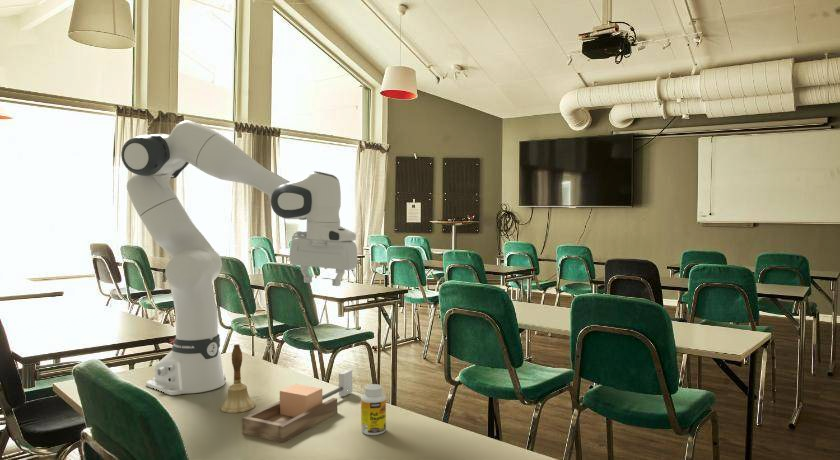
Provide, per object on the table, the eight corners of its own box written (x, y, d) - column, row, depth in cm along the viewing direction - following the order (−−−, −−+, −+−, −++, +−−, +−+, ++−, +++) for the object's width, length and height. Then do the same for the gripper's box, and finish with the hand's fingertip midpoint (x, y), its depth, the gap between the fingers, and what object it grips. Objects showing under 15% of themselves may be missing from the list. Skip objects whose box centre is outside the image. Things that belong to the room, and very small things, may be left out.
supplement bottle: (368, 438, 127) (368, 392, 126) (356, 430, 131) (356, 385, 131) (390, 432, 130) (390, 387, 129) (378, 424, 134) (378, 381, 134)
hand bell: (214, 407, 147) (213, 345, 146) (245, 399, 152) (243, 339, 152) (230, 416, 141) (229, 350, 140) (261, 407, 147) (260, 344, 146)
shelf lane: (242, 433, 130) (242, 417, 130) (299, 405, 148) (299, 391, 147) (282, 442, 125) (282, 426, 124) (337, 412, 142) (337, 398, 142)
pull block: (280, 417, 138) (279, 390, 138) (337, 389, 159) (337, 366, 159) (306, 423, 135) (306, 395, 134) (362, 393, 155) (362, 369, 155)
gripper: (285, 231, 157) (283, 281, 158) (347, 235, 148) (346, 289, 148) (299, 230, 163) (298, 279, 163) (361, 234, 153) (359, 286, 154)
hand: (321, 284), depth 156 cm, fingers open, 8 cm apart
